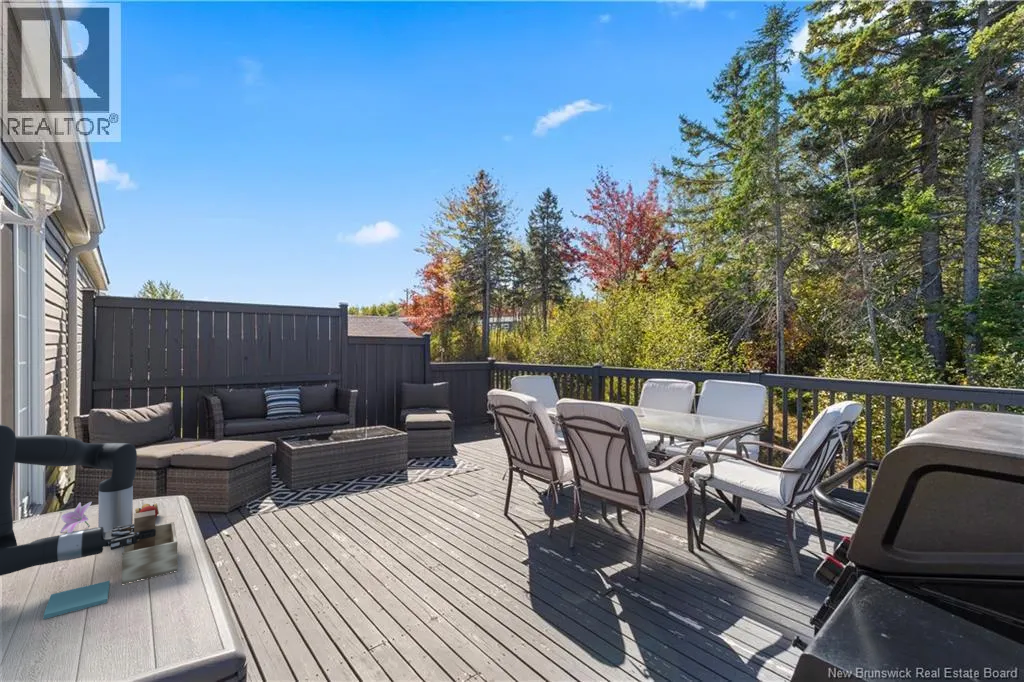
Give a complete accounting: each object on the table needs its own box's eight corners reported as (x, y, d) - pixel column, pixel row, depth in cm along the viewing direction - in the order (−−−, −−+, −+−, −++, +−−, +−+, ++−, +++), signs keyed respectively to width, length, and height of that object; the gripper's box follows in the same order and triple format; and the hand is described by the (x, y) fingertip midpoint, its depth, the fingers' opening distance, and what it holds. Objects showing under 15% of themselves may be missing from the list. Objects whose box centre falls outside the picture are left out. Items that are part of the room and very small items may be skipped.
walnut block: (133, 558, 138) (134, 518, 138) (133, 552, 141) (134, 513, 142) (154, 553, 141) (155, 514, 141) (154, 547, 145) (154, 509, 145)
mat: (43, 619, 114) (43, 615, 114) (50, 598, 124) (50, 594, 124) (107, 602, 122) (107, 598, 122) (109, 583, 131) (109, 580, 131)
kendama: (131, 517, 184) (133, 524, 171) (135, 500, 186) (137, 506, 173) (155, 516, 189) (158, 522, 176) (158, 500, 191) (162, 505, 178)
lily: (62, 529, 171) (48, 512, 166) (101, 510, 178) (89, 493, 173) (66, 548, 163) (52, 531, 159) (107, 527, 171) (94, 510, 166)
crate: (121, 585, 130) (122, 553, 130) (124, 559, 146) (124, 531, 146) (177, 571, 138) (177, 541, 138) (173, 548, 154) (174, 521, 154)
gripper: (78, 539, 127) (156, 524, 137) (83, 523, 138) (155, 510, 148) (78, 566, 127) (155, 549, 137) (83, 548, 138) (154, 533, 148)
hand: (155, 529), depth 143 cm, fingers closed on walnut block, 5 cm apart
